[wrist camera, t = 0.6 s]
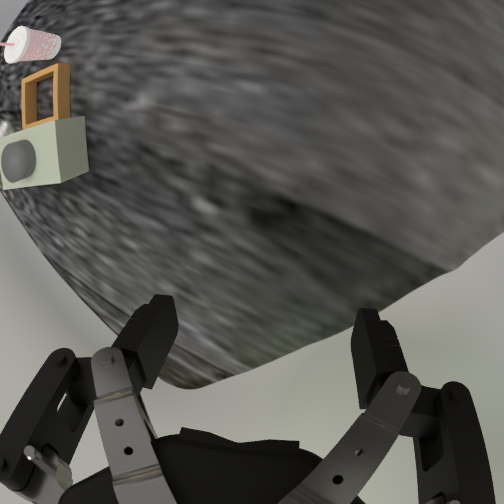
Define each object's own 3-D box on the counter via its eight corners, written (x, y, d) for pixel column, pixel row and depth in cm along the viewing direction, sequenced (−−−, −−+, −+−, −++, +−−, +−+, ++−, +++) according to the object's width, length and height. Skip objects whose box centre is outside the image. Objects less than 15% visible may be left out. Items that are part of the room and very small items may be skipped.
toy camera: (23, 83, 33) (-17, 88, 24) (84, 58, 32) (40, 54, 23) (29, 178, 42) (-9, 195, 33) (89, 171, 40) (47, 189, 31)
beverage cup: (69, 32, 29) (7, 23, 17) (56, 65, 32) (-7, 66, 20) (48, 30, 29) (-11, 24, 16) (36, 61, 31) (-23, 63, 19)
